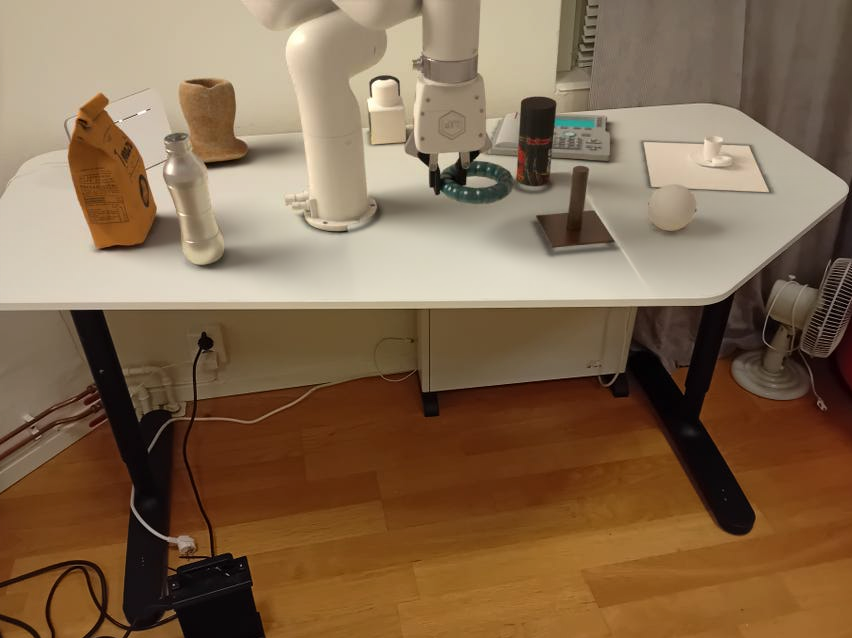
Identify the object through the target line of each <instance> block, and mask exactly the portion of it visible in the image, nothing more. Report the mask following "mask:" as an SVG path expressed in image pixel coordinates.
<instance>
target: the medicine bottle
mask: <svg viewBox="0 0 852 638" xmlns="http://www.w3.org/2000/svg"><path fill="white" fill-rule="evenodd" d="M368 85H369V97H368V98H367V99H366V103H367V115H368V118H367V119H368V127H369V128H368V131H369V138H370V142H371V145H382V144H397V143H398V144H399V143H406V142H407V128H406V127H407V124H406V108H405V104H404V102H403V97H402V96H401V83H400V80H399V78H398V77H395V76H393V75H390V74H389V75H388V74H384V75H377V76H375V77H372V78H371V79H370V81H369V82H368Z"/></svg>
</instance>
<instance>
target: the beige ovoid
mask: <svg viewBox="0 0 852 638" xmlns="http://www.w3.org/2000/svg"><path fill="white" fill-rule="evenodd" d="M655 190H656V191H655V192H654V193H652V195H651V198H650V200H649V202H648V203H647V212H648V216H649V218H650V220H651V222H652V223H653V224H654V226H656V227H657V228H658V229H660V230H664V231H672V232H673V231H678V230H681V229H682V228H685V227H686V226H687V225H689V223H690V222H692V221H693V219H694V216H695V214H696V213H697V202H696V198H695V195H694V194H693V193H692V191H691V190H690V189H688V188H686V187H684V186H681V185H677V184H671V185H666V186H663V187H659V188H658V189H657V188H655Z"/></svg>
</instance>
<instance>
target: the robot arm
mask: <svg viewBox="0 0 852 638" xmlns="http://www.w3.org/2000/svg"><path fill="white" fill-rule="evenodd" d="M239 1H240V2H241V3H242V4H243V6H244V7H245V8H246V9H247V10H248V11H249V13H250V14H251V15H252V16H253V17H254V18H255V19H256V20H257V21H258V22H259V23H260V24H261V26H263V27H265V28H266V29H267V30H270V31H273V32H281V31H286V30H289V29H291V28H295V27H296V28H295V29H294V30H293V31H292V33H291V34H290V35H289V37H288V39H287V42H286V45H285V61H286V62H285V63H286V65H287V69H288V72H289V75H290V78H291V81H292V84H293V87H294V91H295V95H296V99H297V104H298V109H299V116H300V124H301V130H302V138H303V144H304V153H305V160H306V167H307V174H308V181H309V184H308V190H303V192H302V193H285V194H284V202H285V206H286V207H291V208H292V209H291V210H292V211H301V210H303V214H304V220H305V221H306V222H307V223H308V224H309V225H310V226H312V227H313V228H316V229H319V230H323V231H328V232H329V231H330V232H344V231H345V232H347V231H349V230H348V229H349V228H348V226H351V225H356V224H358V223H361V222H364V221H366V220H368V219H369V218H371V217H372V216H373V215H374V214H375V213H376V212H377V209H378V205H377V202H376V200H375V199H374V198H373V197H371V196H369V195H368V185H367V184H368V183H367V173H366V171H367V170H366V161H365V160H366V159H365V147H364V135H363V134H364V133H363V122H362V113H361V112H362V111H361V108H360V104H359V101H358V99H357V97H356V95H355V94H354V92H353V90H352V88H351V84H350V80H351V79H353V78H354V77H355V76H357V75H359V74H362V73H363V72H365V71H367V70H368V69H371V68H372V67H374V66H375V65H377V64H378V63H379V62H380V61H381V60H382V59H383V57H385V53H386V51H387V48H388V35H387V30H388V29H391V28H393V27H396V26H397V25H400V24H402V23H404V22H407V21H409V20H412V19H415V18H418V17H422V19H421V25H422V26H421V27H422V28H421V29H422V30H421V31H422V34H421V35H422V39H421V41H422V42H421V43H422V47H421V49H422V51H421V55H420V56H419V58H416V59H411V70H412V71H417V72H420V74H419V75H418V77H417V81H416V85H415V93H414V102H413V118H412V130H411V132H410V134H409V135H408V138H407V139H406V142H405V144H404V147H403V150H404V152H405V154H406V155H408V156H411V157H413V158H417V159H419V161H420V162H422V163H423V164H424V165H425V166H426V167H427V168H428V186H429V188H430V189H432V188H433V193H434V195H435V196H440V195H441V190H440V177H441V172H442V171H441V168H440V166H439V165H440V164H439V154H448V153H449V154H451V153H458V158H457V160H456V161H455V162H454V164H455V182H456V183H457V184H459V185H462V186H465V187H467V181H468V177H467V168H469V166H470V164H471V163H472V162H473V161H476V159H477V158H478V157H479V156H480V155H481V154H484V153H485V152H488V150H489V149H491V148H492V146H493V145H492V143H491V141H492V139H490V136H489V134H488V132H487V105H486V103H487V102H486V88H485V81H484V77H483V76H482V75H481V74H480V73H479V72H478V68H479V67H478V66H479V44H480V43H479V42H480V23H481V22H480V21H481V3H482V2H481V1H482V0H239ZM297 26H298V27H297ZM371 205H372V206H371Z"/></svg>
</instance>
